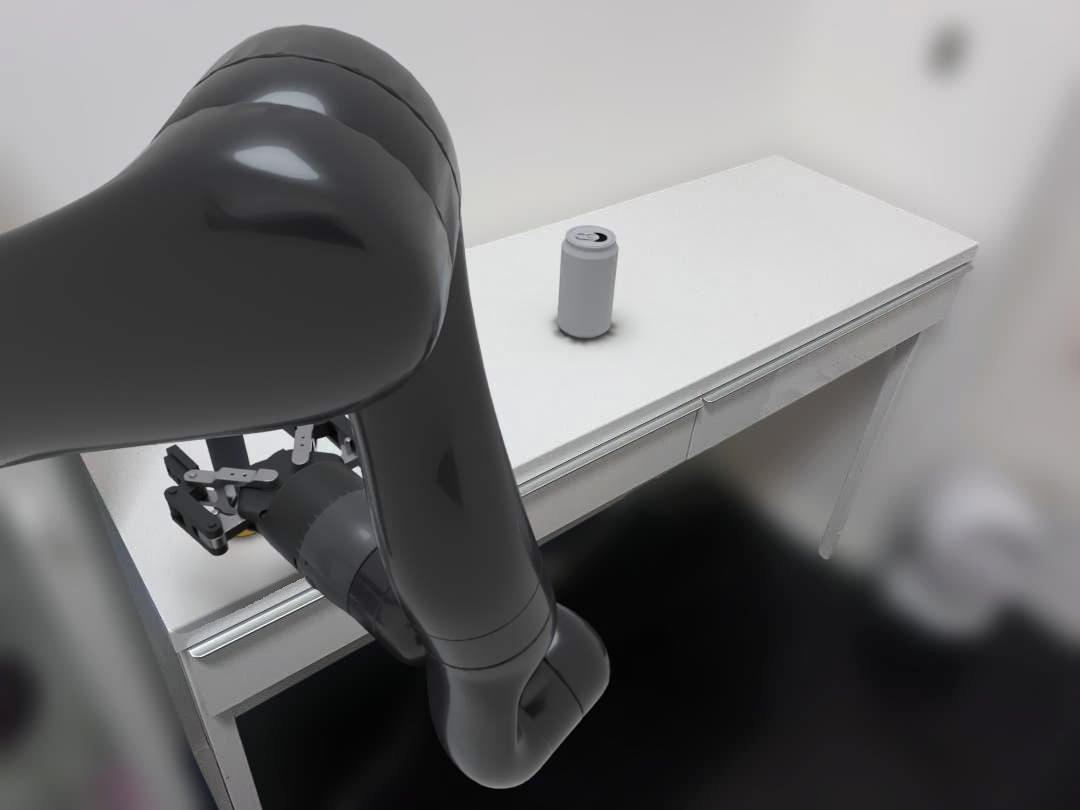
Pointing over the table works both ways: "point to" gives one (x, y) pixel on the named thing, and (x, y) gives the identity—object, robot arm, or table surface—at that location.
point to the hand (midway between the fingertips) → (224, 430)
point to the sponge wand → (229, 459)
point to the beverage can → (587, 281)
